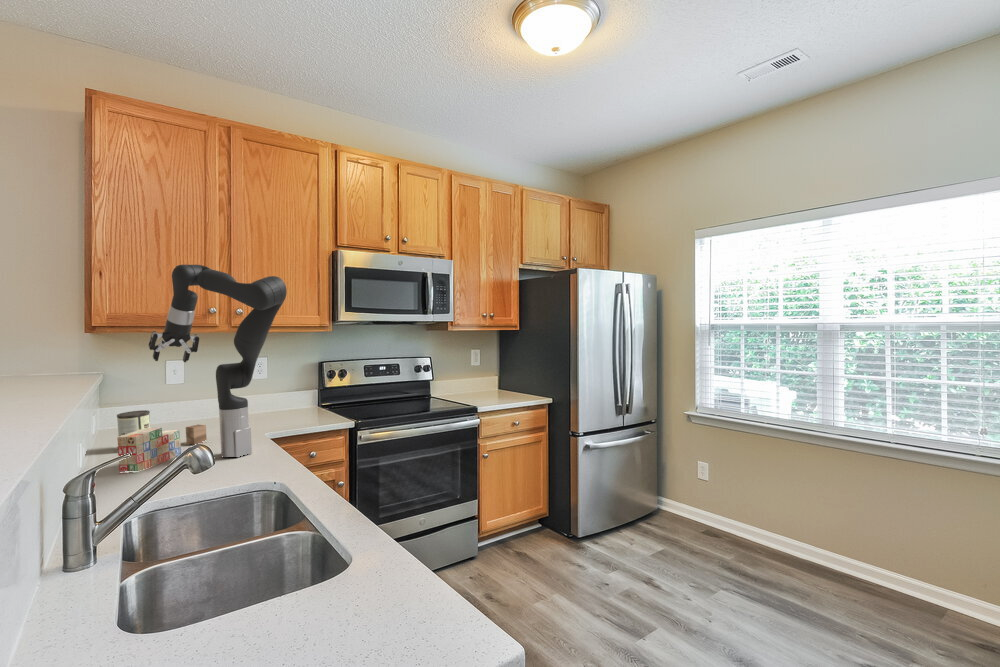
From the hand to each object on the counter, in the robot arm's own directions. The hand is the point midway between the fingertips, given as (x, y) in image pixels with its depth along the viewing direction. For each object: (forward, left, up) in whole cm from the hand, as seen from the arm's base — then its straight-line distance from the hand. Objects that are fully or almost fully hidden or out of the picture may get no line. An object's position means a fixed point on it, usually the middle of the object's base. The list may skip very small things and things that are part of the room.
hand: (170, 360), depth 173 cm
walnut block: (+17, -18, -35) cm, 43 cm away
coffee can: (+33, -4, -36) cm, 48 cm away
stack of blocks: (+4, +6, -36) cm, 36 cm away
